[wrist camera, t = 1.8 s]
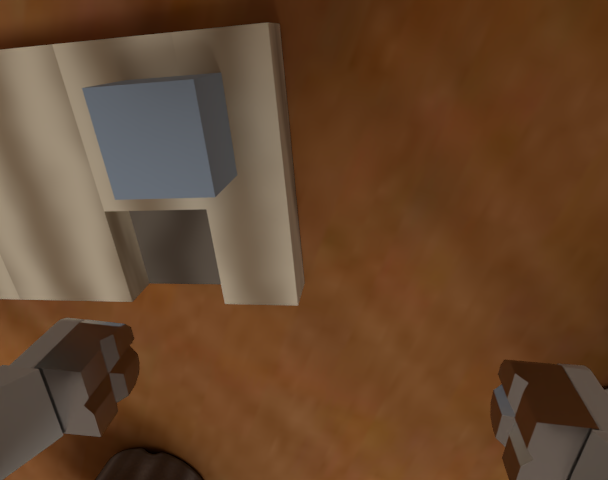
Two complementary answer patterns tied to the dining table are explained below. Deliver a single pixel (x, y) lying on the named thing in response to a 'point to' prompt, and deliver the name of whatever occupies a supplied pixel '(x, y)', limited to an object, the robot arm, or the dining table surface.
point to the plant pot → (146, 467)
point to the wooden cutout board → (145, 212)
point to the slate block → (164, 136)
